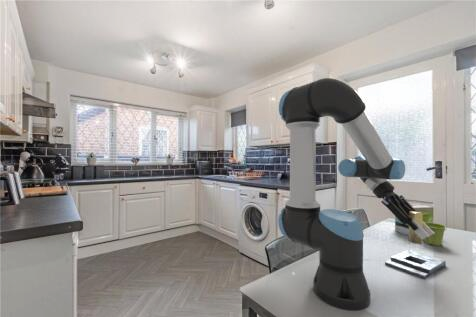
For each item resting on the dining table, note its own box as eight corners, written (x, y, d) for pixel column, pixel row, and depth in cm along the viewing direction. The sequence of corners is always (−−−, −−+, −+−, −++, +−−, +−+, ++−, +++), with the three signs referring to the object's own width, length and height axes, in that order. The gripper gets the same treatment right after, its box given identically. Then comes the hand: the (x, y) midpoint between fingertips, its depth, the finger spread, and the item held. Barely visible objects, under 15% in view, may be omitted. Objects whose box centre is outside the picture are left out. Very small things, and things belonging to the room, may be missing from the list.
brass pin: (419, 244, 81) (419, 214, 81) (407, 241, 85) (406, 212, 85) (424, 242, 83) (424, 213, 83) (412, 239, 87) (411, 210, 87)
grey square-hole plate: (424, 279, 74) (424, 276, 74) (385, 264, 84) (385, 261, 84) (441, 268, 81) (441, 265, 81) (403, 256, 91) (403, 254, 91)
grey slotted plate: (429, 275, 76) (429, 270, 76) (390, 262, 86) (390, 256, 86) (445, 266, 83) (445, 260, 83) (408, 254, 93) (408, 249, 93)
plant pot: (452, 247, 101) (452, 227, 101) (431, 247, 101) (431, 227, 101) (434, 239, 110) (434, 222, 110) (415, 239, 111) (415, 222, 111)
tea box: (412, 236, 115) (412, 208, 115) (394, 230, 124) (394, 204, 125) (434, 234, 119) (434, 206, 119) (414, 228, 128) (414, 203, 129)
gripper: (383, 190, 102) (429, 237, 87) (362, 193, 93) (408, 246, 79) (396, 179, 97) (447, 227, 83) (375, 181, 88) (427, 235, 74)
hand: (428, 236), depth 81 cm, fingers closed on brass pin, 4 cm apart
